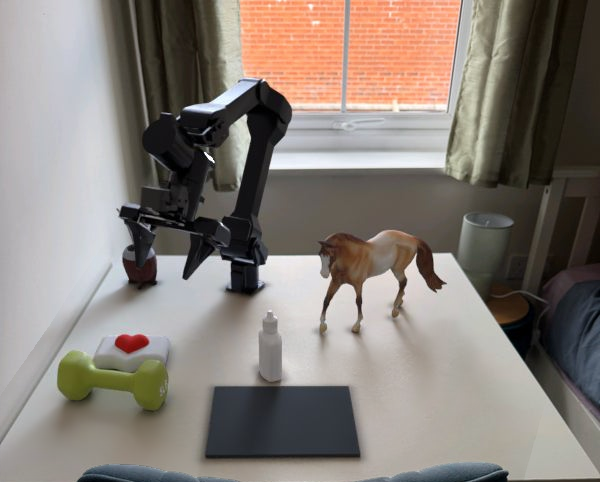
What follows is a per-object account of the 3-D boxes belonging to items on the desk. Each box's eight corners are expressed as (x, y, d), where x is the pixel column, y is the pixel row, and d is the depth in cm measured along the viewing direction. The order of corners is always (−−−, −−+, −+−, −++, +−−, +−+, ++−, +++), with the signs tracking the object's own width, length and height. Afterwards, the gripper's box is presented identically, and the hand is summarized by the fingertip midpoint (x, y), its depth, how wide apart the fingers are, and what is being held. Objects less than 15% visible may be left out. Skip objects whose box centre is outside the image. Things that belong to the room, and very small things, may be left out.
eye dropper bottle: (285, 366, 104) (286, 304, 97) (280, 384, 100) (280, 320, 93) (260, 363, 105) (259, 302, 98) (254, 381, 100) (253, 318, 93)
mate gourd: (155, 290, 127) (146, 221, 118) (118, 289, 127) (106, 220, 118) (162, 275, 133) (154, 208, 124) (127, 274, 133) (116, 207, 124)
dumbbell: (175, 391, 97) (170, 353, 93) (156, 420, 91) (150, 381, 87) (81, 378, 100) (72, 341, 95) (57, 406, 93) (46, 368, 89)
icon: (85, 355, 98) (99, 325, 106) (90, 377, 100) (104, 346, 108) (161, 355, 98) (169, 325, 106) (164, 377, 101) (172, 346, 109)
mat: (215, 389, 98) (214, 386, 98) (348, 388, 99) (348, 385, 99) (205, 458, 84) (205, 455, 84) (360, 457, 85) (360, 454, 85)
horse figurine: (319, 350, 109) (324, 241, 97) (296, 332, 114) (298, 226, 102) (443, 309, 123) (461, 209, 111) (417, 295, 128) (432, 198, 116)
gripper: (111, 153, 95) (84, 248, 95) (213, 169, 89) (184, 271, 89) (149, 183, 105) (126, 269, 105) (243, 199, 99) (217, 290, 99)
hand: (161, 274), depth 99 cm, fingers open, 9 cm apart
